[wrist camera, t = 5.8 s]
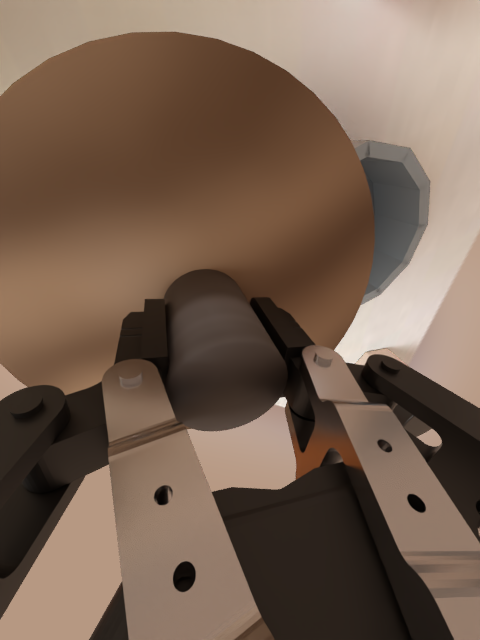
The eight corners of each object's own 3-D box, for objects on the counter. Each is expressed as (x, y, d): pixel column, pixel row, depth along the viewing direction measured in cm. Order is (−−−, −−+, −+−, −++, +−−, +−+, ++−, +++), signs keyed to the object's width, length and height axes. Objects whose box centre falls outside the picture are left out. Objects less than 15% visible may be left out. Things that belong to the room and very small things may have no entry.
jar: (366, 387, 51) (416, 442, 41) (339, 379, 47) (388, 438, 37) (398, 353, 48) (461, 404, 38) (373, 341, 44) (436, 395, 34)
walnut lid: (-189, 208, 8) (-840, 315, 3) (322, -72, 7) (673, -545, 2) (149, 448, 18) (146, 566, 13) (372, 333, 17) (459, 407, 12)
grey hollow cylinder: (232, 189, 25) (256, 200, 19) (370, 115, 25) (434, 105, 19) (277, 304, 34) (303, 335, 28) (379, 250, 34) (424, 270, 28)
